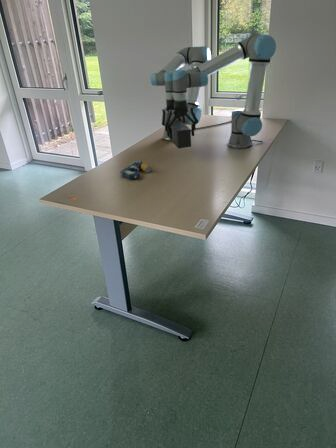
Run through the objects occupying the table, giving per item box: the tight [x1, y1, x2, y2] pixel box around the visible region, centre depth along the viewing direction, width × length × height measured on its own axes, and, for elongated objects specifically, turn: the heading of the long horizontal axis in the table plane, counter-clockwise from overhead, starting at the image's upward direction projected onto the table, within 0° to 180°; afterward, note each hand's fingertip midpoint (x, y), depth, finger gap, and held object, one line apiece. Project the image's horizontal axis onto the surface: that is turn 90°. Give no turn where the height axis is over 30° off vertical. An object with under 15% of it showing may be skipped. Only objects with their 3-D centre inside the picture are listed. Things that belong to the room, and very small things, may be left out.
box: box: [168, 119, 192, 149], centre depth 209 cm, size 28×8×10 cm, turn 14°
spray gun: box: [119, 160, 152, 180], centre depth 195 cm, size 21×4×15 cm
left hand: (174, 134), depth 219 cm, fingers closed on box, 8 cm apart
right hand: (182, 137), depth 200 cm, fingers open, 13 cm apart
